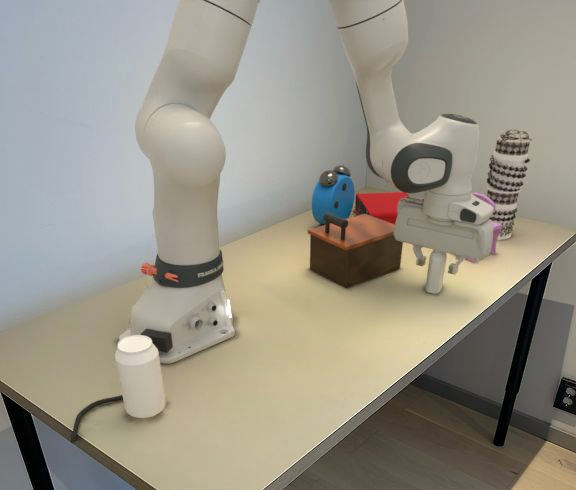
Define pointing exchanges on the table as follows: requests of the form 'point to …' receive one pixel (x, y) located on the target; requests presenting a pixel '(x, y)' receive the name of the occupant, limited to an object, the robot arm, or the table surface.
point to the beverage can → (140, 376)
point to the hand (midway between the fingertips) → (436, 269)
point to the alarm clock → (333, 194)
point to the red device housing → (379, 205)
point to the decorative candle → (507, 177)
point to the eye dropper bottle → (435, 271)
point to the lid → (352, 230)
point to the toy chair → (495, 225)
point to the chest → (355, 260)
